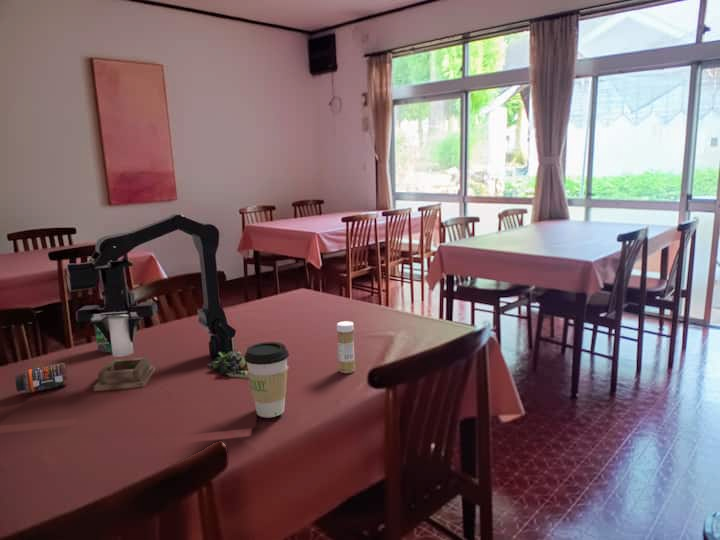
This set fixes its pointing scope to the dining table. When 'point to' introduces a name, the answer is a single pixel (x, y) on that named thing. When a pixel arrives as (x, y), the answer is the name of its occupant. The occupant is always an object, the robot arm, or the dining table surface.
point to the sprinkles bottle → (346, 347)
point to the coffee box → (102, 340)
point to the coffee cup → (268, 377)
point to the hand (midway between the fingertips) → (121, 342)
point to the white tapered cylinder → (120, 335)
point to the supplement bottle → (42, 378)
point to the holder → (124, 374)
